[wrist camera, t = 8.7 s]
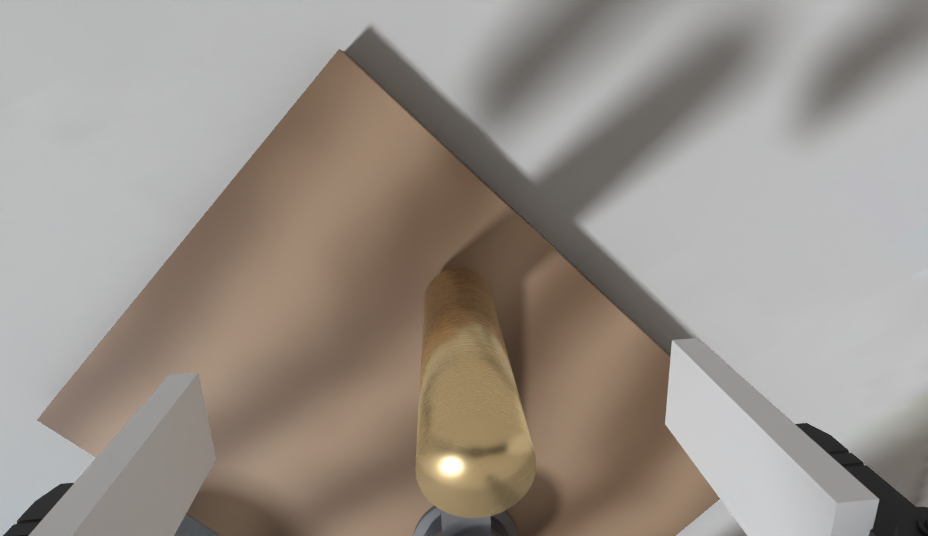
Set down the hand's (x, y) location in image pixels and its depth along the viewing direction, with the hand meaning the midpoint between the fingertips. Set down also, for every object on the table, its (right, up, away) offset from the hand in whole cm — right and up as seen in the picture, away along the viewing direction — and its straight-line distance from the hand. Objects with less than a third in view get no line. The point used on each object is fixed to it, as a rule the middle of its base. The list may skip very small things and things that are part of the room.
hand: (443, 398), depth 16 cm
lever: (+1, -6, +10) cm, 12 cm away
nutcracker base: (-1, -4, +12) cm, 12 cm away
